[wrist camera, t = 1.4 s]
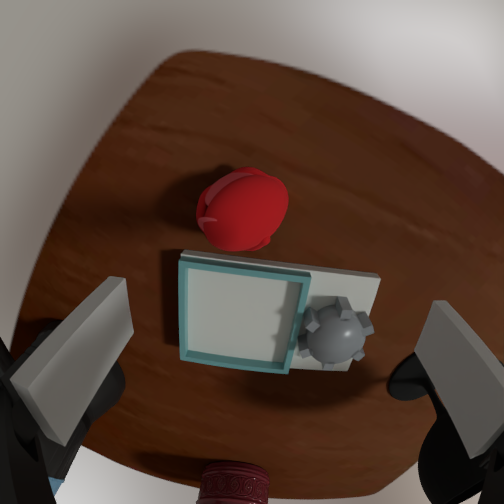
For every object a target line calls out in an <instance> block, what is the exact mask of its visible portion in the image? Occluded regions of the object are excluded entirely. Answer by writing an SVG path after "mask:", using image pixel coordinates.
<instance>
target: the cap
mask: <svg viewBox="0 0 504 504" xmlns="http://www.w3.org/2000/svg"><path fill="white" fill-rule="evenodd" d="M207 205H208V207H207ZM287 207H288V193H287V189H286V187H285V185H284V184H283V183H282V182H281V181H280V180H279V179H278V178H276V177H273V176H269V175H267V174H266V173H264V172H262V171H261V170H259V169H256V168H253V167H242V168H239V169H236V170H234V171H233V172H231V173H230V174H228V175H226V176H224V177H222V178H220V179H219V180H218V181H216V182H215V183H214V184H213V185H211V186H209V187H207V188H206V189H205V190H204V191H203V192H202V194H201V196H200V198H199V201H198V204H197V210H196V219H197V223H198V226H199V227H200V229H201V230H202V231H203V233H204V234H205V236H206V238H207V239H208V241H209V242H210V243H211V244H212V245H213V246H215V247H217V248H219V249H221V250H225V251H242V250H246V251H255V250H258V249H260V248H262V247H263V246H265V245H267V244H268V243H269V242H270V236H271V235H272V234H273V233H274V232H275V231H276V230H277V228H278V227H279V226H280V224H281V222H282V220H283V218H284V216H285V213H286V210H287Z"/></svg>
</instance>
